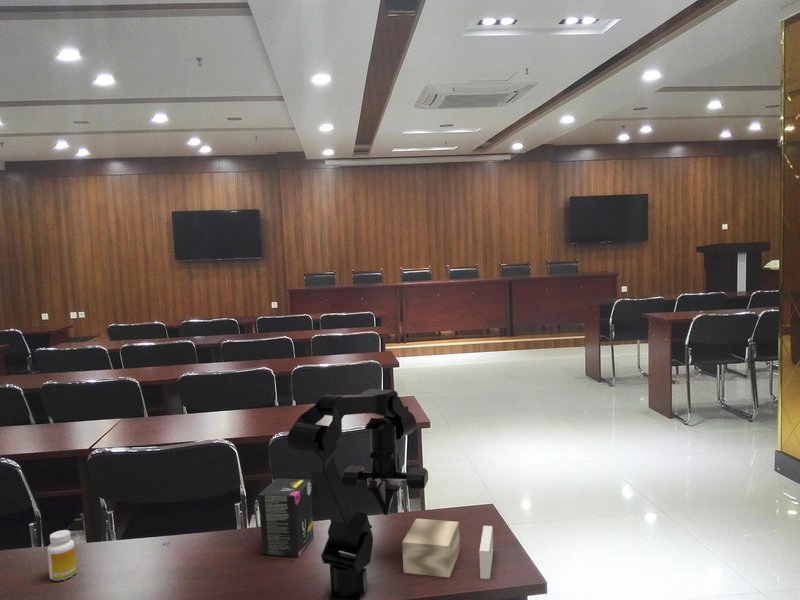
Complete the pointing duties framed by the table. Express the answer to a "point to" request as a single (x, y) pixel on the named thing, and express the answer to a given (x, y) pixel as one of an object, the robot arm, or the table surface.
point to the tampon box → (286, 517)
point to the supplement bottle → (61, 555)
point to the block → (431, 547)
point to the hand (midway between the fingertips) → (386, 514)
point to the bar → (486, 552)
